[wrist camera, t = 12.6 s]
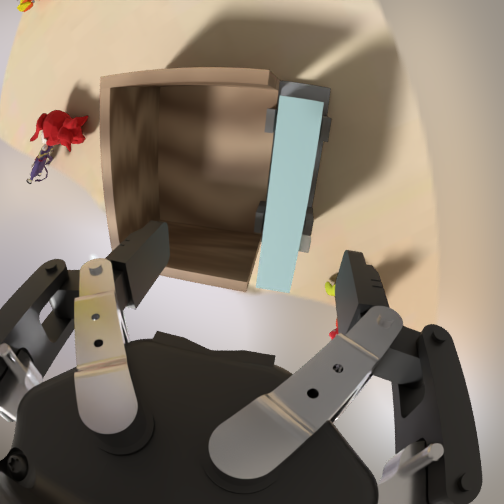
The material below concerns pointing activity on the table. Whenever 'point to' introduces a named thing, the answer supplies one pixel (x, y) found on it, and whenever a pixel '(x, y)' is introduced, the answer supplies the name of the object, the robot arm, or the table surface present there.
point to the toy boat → (25, 5)
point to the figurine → (55, 136)
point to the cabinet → (197, 163)
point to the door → (289, 191)
